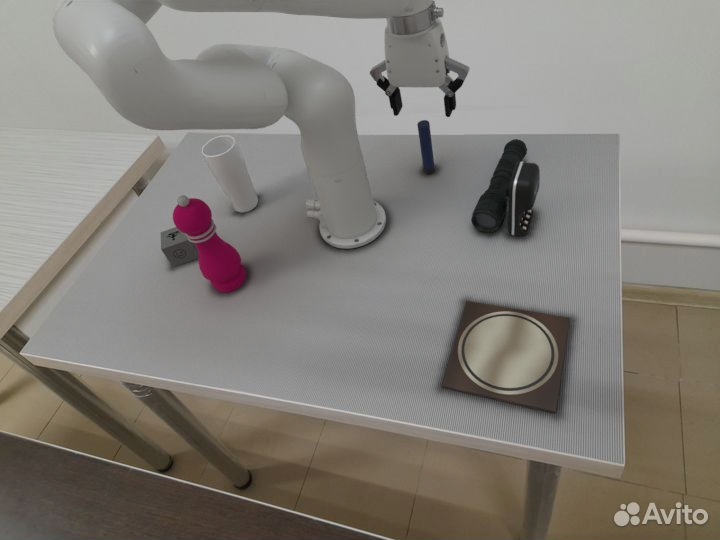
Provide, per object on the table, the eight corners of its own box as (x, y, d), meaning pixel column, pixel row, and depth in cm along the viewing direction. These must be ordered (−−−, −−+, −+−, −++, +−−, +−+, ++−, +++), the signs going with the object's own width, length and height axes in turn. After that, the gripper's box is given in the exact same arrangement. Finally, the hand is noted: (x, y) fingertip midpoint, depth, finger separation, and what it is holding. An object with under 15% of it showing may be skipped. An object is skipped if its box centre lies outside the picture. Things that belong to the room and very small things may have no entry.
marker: (422, 173, 104) (415, 126, 96) (425, 166, 105) (419, 119, 97) (433, 174, 103) (427, 127, 95) (436, 167, 104) (430, 120, 96)
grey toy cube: (196, 241, 104) (185, 223, 100) (198, 258, 101) (186, 240, 97) (172, 250, 104) (160, 232, 100) (173, 267, 100) (160, 249, 97)
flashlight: (470, 231, 91) (469, 209, 87) (503, 157, 102) (503, 136, 98) (499, 236, 89) (499, 214, 85) (529, 160, 100) (530, 138, 96)
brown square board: (441, 387, 73) (441, 384, 72) (466, 302, 81) (466, 299, 81) (555, 413, 67) (556, 411, 66) (569, 320, 76) (570, 316, 75)
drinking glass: (225, 214, 108) (193, 155, 97) (241, 192, 112) (213, 133, 101) (252, 218, 105) (223, 158, 94) (268, 195, 109) (242, 135, 98)
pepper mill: (207, 275, 97) (155, 193, 82) (243, 258, 98) (198, 175, 83) (215, 301, 92) (161, 219, 77) (253, 284, 93) (207, 200, 78)
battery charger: (530, 239, 87) (533, 187, 79) (507, 236, 88) (508, 184, 80) (538, 211, 91) (542, 158, 82) (516, 208, 92) (517, 156, 84)
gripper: (470, 2, 80) (476, 100, 93) (367, 8, 87) (385, 99, 100) (459, 27, 76) (466, 126, 89) (351, 31, 83) (372, 123, 95)
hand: (423, 111), depth 94 cm, fingers open, 9 cm apart
